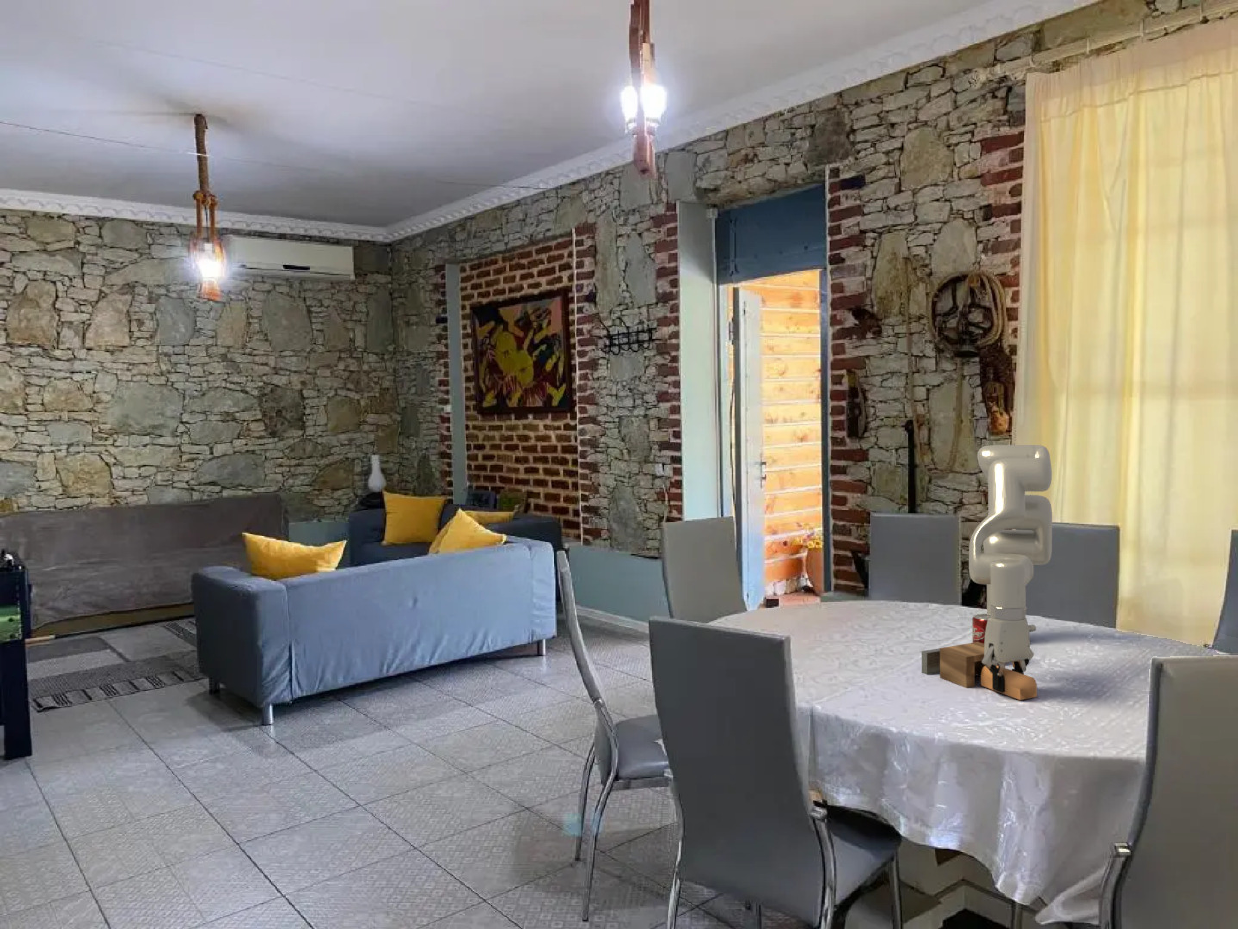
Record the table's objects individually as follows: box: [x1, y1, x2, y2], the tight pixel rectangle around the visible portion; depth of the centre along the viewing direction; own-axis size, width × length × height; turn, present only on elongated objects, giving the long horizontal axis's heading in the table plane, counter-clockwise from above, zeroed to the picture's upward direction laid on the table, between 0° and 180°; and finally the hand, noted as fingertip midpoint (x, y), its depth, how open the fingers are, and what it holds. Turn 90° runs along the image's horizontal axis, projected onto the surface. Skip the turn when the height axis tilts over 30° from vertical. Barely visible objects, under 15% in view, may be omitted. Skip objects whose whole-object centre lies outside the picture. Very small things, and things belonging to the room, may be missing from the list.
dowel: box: [980, 666, 1038, 701], centre depth 214 cm, size 12×5×5 cm, turn 22°
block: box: [939, 642, 1006, 689], centre depth 224 cm, size 12×9×8 cm
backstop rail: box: [921, 647, 941, 676], centre depth 233 cm, size 14×2×6 cm, turn 112°
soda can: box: [971, 613, 991, 644], centre depth 238 cm, size 7×7×12 cm
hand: (1008, 688), depth 214 cm, fingers closed on dowel, 5 cm apart
